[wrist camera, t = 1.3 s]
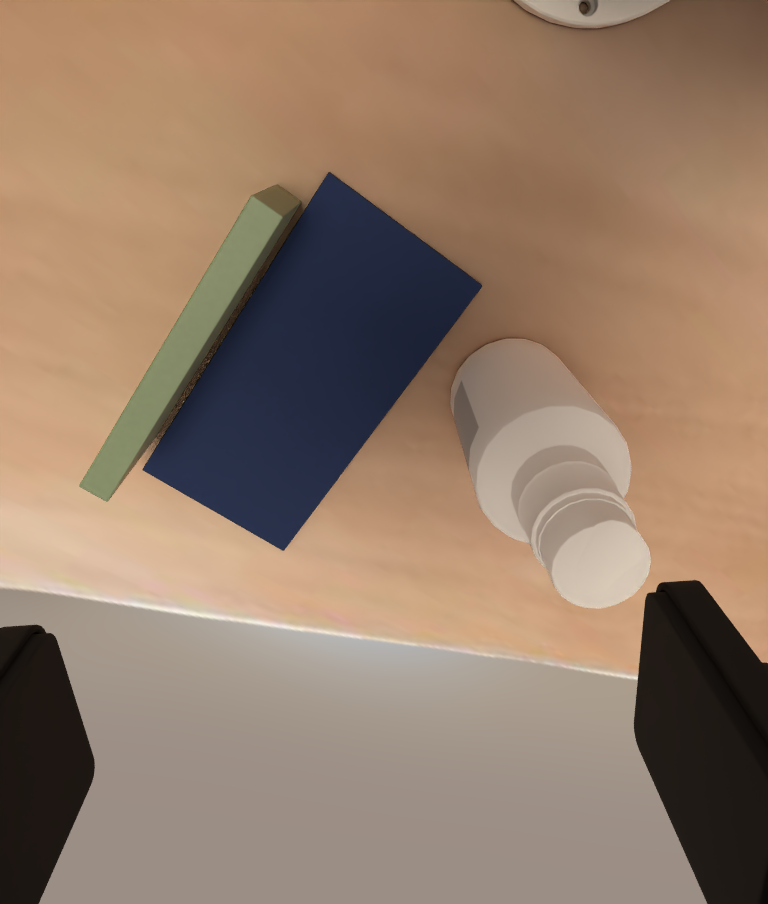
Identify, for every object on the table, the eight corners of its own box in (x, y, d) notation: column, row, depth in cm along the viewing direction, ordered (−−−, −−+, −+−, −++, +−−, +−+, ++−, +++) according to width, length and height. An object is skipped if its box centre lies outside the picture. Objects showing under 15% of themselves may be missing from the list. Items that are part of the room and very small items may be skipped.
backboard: (301, 201, 36) (283, 216, 29) (154, 438, 41) (107, 502, 34) (276, 183, 36) (251, 194, 28) (131, 424, 41) (78, 486, 34)
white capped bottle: (427, 418, 41) (463, 604, 24) (488, 314, 39) (573, 443, 22) (527, 467, 42) (625, 674, 26) (591, 369, 40) (744, 530, 23)
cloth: (481, 284, 38) (482, 286, 38) (284, 547, 44) (283, 551, 44) (329, 171, 36) (328, 172, 35) (144, 467, 42) (142, 470, 42)
